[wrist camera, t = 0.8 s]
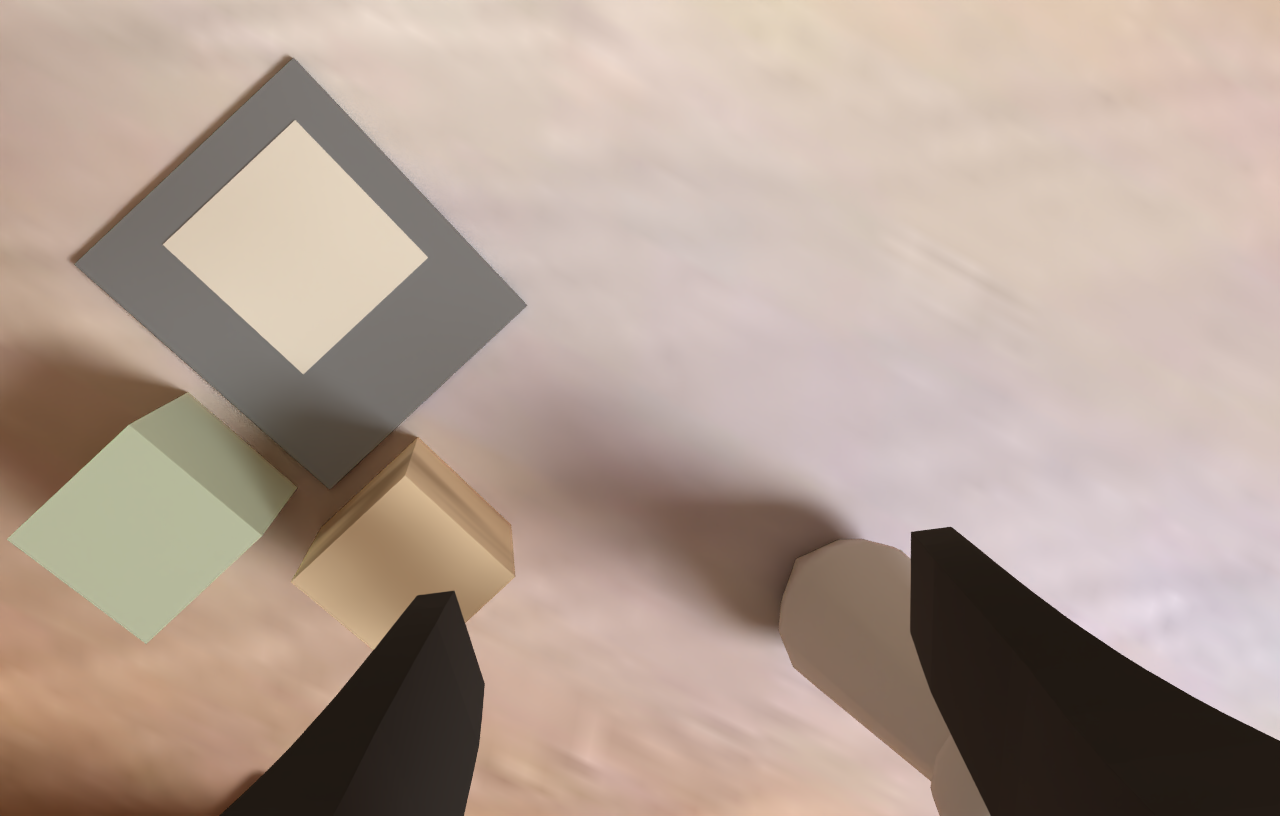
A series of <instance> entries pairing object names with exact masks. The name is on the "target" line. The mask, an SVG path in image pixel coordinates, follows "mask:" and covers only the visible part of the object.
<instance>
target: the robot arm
mask: <svg viewBox="0 0 1280 816" xmlns="http://www.w3.org/2000/svg"><path fill="white" fill-rule="evenodd" d="M910 633H911V636H912V639H913V642H914V645H915V648H916V651H917V654H918V657H919V660H920V663H921V666H922V669H923V672H924V675H925V678H926V680H927V683H928V686H929V689H930V692H931V694H932V696H933V698H934V700H935V702H936V704H937V707H938V709H939V711H940V713H941V715H942V717H943V719H944V721H945V723H946V725H947V727H948V729H949V732H950V734H951V736H952V738H953V740H954V742H955V744H956V746H957V748H958V750H959V752H960V754H961V756H962V758H963V760H964V762H965V764H966V766H967V768H968V770H969V772H970V774H971V777H972V779H973V781H974V783H975V785H976V787H977V789H978V791H979V793H980V795H981V797H982V799H983V801H984V803H985V805H986V807H987V809H988V811H989V813H990V815H991V816H1280V741H1279V740H1277V739H1275V738H1273V737H1271V736H1269V735H1267V734H1265V733H1263V732H1261V731H1259V730H1257V729H1255V728H1253V727H1251V726H1249V725H1247V724H1245V723H1243V722H1240V721H1238V720H1236V719H1234V718H1232V717H1230V716H1228V715H1226V714H1224V713H1222V712H1221V711H1219V710H1217V709H1215V708H1213V707H1211V706H1209V705H1207V704H1206V703H1204V702H1202V701H1200V700H1198V699H1196V698H1194V697H1193V696H1191V695H1189V694H1187V693H1186V692H1184V691H1182V690H1180V689H1179V688H1177V687H1175V686H1173V685H1172V684H1170V683H1168V682H1167V681H1165V680H1163V679H1161V678H1160V677H1158V676H1156V675H1154V674H1153V673H1151V672H1149V671H1147V670H1146V669H1144V668H1142V667H1141V666H1139V665H1138V664H1136V663H1134V662H1133V661H1131V660H1130V659H1128V658H1126V657H1125V656H1123V655H1122V654H1120V653H1118V652H1117V651H1115V650H1114V649H1112V648H1111V647H1110V646H1108V645H1107V644H1105V643H1104V642H1102V641H1101V640H1099V639H1098V638H1096V637H1095V636H1093V635H1092V634H1090V633H1089V632H1087V631H1086V630H1084V629H1083V628H1081V627H1080V626H1078V625H1077V624H1075V623H1074V622H1073V621H1071V620H1070V619H1068V618H1067V617H1066V616H1064V615H1063V614H1062V613H1060V612H1059V611H1058V610H1056V609H1055V608H1054V607H1052V606H1051V605H1050V604H1048V603H1047V602H1046V601H1044V600H1043V599H1041V598H1040V597H1039V596H1037V595H1036V594H1035V593H1033V592H1032V591H1031V590H1030V589H1028V588H1027V587H1026V586H1024V585H1023V584H1022V583H1021V582H1019V581H1018V580H1017V579H1015V578H1014V577H1013V576H1012V575H1010V574H1009V573H1008V572H1007V571H1005V570H1004V569H1003V568H1002V567H1000V566H999V565H998V564H997V563H995V562H994V561H993V560H992V559H991V558H989V557H988V556H987V555H986V554H984V553H983V552H982V551H981V550H979V549H978V548H977V547H976V546H975V545H973V544H972V543H971V542H970V541H968V540H967V539H966V538H965V537H963V536H962V535H961V534H960V533H958V532H957V531H956V530H955V529H953V528H952V527H946V528H938V529H931V530H923V531H915V532H911V590H910ZM484 686H485V683H484V680H483V677H482V674H481V671H480V668H479V665H478V662H477V659H476V656H475V652H474V649H473V646H472V643H471V640H470V637H469V634H468V631H467V628H466V625H465V621H464V618H463V615H462V612H461V609H460V606H459V603H458V600H457V597H456V594H455V591H447V592H439V593H431V594H423V595H417V596H416V597H415V599H414V600H413V601H412V602H411V604H410V605H409V606H408V607H407V608H406V610H405V611H404V612H403V613H402V615H401V616H400V617H399V618H398V620H397V621H396V622H395V623H394V625H393V626H392V627H391V629H390V630H389V631H388V632H387V634H386V635H385V636H384V637H383V639H382V640H381V641H380V643H379V644H378V645H377V646H376V648H375V649H374V650H373V651H372V653H371V654H370V655H369V656H368V658H367V659H366V660H365V661H364V663H363V664H362V665H361V666H360V668H359V669H358V670H357V671H356V672H355V674H354V675H353V676H352V677H351V678H350V680H349V681H348V682H347V683H346V685H345V686H344V687H343V688H342V689H341V691H340V692H339V693H338V694H337V695H336V697H335V698H334V699H333V700H332V701H331V702H330V704H329V705H328V706H327V707H326V708H325V709H324V710H323V711H322V712H321V714H320V715H319V716H318V717H317V718H316V719H315V720H314V721H313V723H312V724H311V725H310V726H309V727H308V728H307V729H306V730H305V731H304V733H303V734H302V735H301V736H300V737H299V738H298V739H297V740H296V742H295V743H294V744H293V745H292V746H291V747H290V748H289V749H288V750H287V751H286V752H285V753H284V754H283V755H282V756H281V757H280V758H279V759H278V760H277V761H276V762H275V763H274V764H273V765H272V766H271V767H270V768H269V769H268V770H267V771H266V772H265V773H264V774H263V775H262V776H261V777H260V778H259V779H258V780H257V781H256V782H255V783H254V784H253V785H252V786H251V787H250V788H249V789H248V790H247V791H246V792H245V793H244V794H242V795H241V796H240V797H239V798H238V799H237V800H236V801H235V802H234V803H233V804H232V805H231V806H230V807H229V808H227V809H226V810H225V811H224V812H223V813H222V814H221V815H219V816H464V812H465V808H466V803H467V799H468V794H469V790H470V785H471V781H472V776H473V771H474V767H475V762H476V757H477V752H478V748H479V740H480V731H481V721H482V710H483V698H484Z"/></svg>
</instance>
